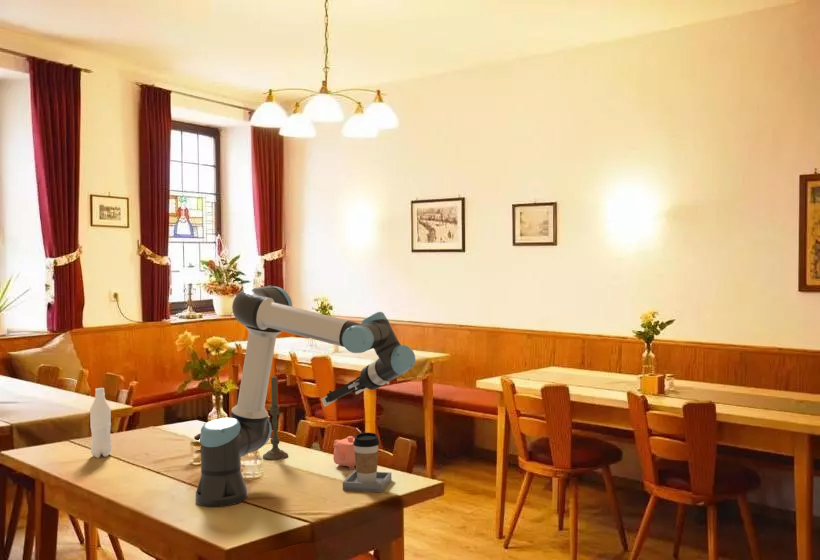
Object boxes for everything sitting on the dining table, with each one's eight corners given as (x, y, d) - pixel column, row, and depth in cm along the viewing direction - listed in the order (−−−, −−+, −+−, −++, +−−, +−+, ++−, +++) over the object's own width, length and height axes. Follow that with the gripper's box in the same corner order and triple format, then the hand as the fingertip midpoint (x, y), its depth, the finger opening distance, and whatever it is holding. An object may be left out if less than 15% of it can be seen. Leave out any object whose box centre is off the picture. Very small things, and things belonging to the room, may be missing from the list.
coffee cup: (381, 478, 238) (381, 432, 237) (378, 486, 229) (377, 439, 229) (356, 477, 239) (355, 432, 238) (351, 485, 230) (350, 438, 230)
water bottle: (88, 455, 271) (86, 388, 270) (107, 452, 276) (106, 386, 275) (94, 459, 266) (93, 391, 265) (114, 455, 271) (113, 388, 270)
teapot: (334, 460, 263) (333, 432, 262) (367, 459, 264) (367, 431, 263) (333, 472, 249) (332, 442, 248) (368, 471, 249) (367, 441, 249)
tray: (381, 492, 227) (381, 484, 227) (342, 490, 229) (342, 482, 229) (391, 480, 239) (391, 472, 239) (354, 477, 242) (354, 470, 242)
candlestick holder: (276, 461, 261) (275, 377, 260) (257, 458, 266) (256, 375, 265) (293, 455, 269) (292, 374, 268) (274, 452, 274) (273, 372, 273)
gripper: (351, 397, 212) (314, 419, 226) (410, 374, 230) (372, 396, 244) (341, 373, 213) (304, 396, 228) (400, 352, 231) (363, 375, 245)
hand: (339, 396), depth 236 cm, fingers open, 13 cm apart
